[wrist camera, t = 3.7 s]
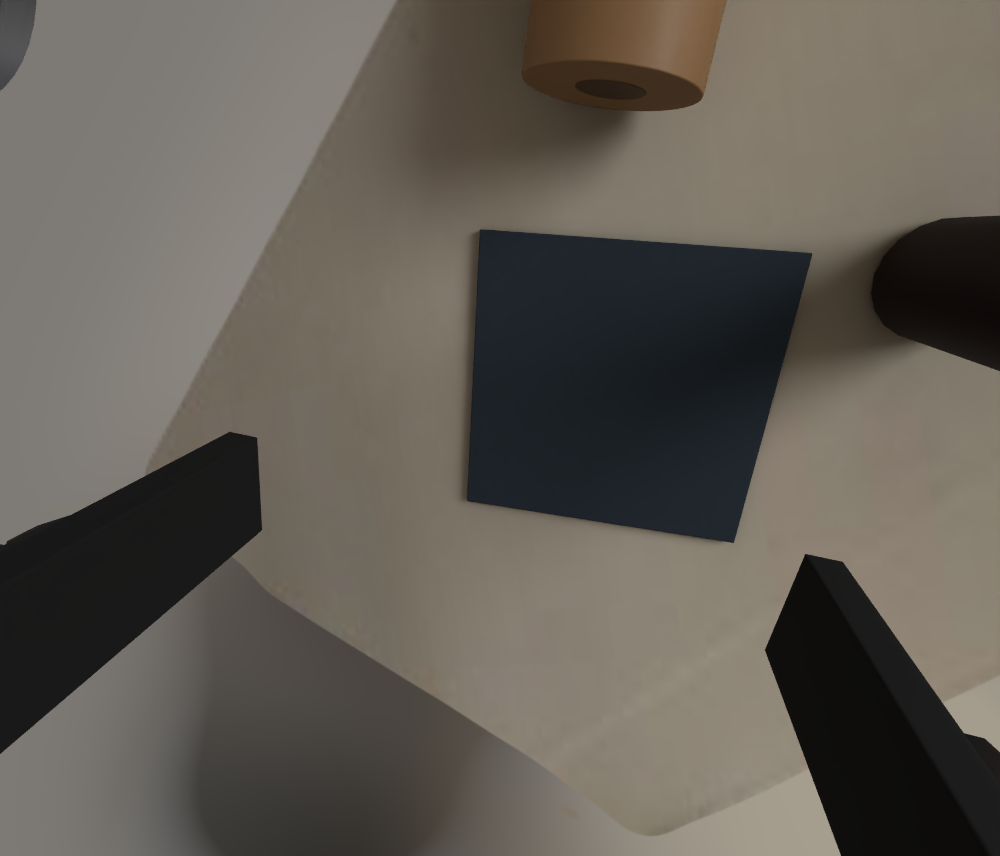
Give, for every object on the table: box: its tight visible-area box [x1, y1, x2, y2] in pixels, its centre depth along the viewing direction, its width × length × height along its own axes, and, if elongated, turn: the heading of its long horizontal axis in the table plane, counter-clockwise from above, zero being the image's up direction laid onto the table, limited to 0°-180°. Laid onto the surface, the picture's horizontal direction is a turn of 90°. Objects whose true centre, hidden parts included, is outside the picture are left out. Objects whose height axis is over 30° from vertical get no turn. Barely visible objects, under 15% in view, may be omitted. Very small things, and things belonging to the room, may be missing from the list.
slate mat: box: [467, 230, 812, 543], centre depth 36 cm, size 20×20×1 cm
